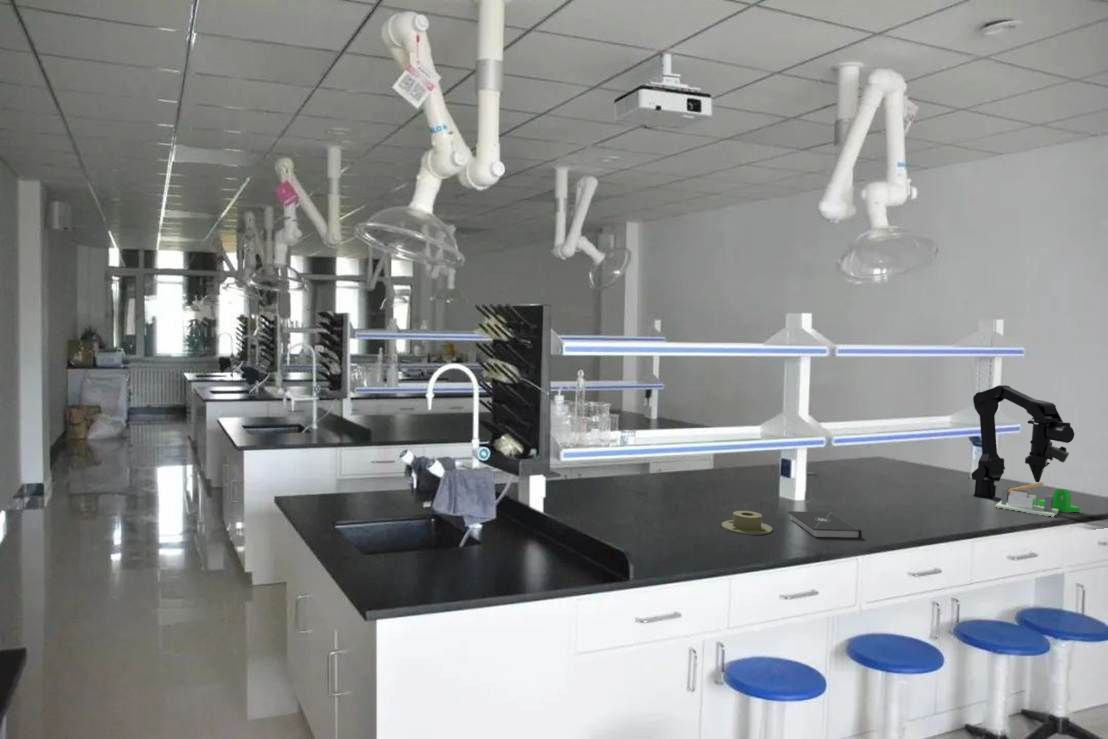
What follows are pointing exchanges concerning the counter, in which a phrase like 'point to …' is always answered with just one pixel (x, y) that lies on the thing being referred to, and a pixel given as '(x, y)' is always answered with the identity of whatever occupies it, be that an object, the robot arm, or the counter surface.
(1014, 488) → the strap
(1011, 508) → the board
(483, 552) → the counter surface
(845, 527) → the book
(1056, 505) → the mechanical part
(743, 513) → the flange
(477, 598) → the counter surface
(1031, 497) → the electronic module
